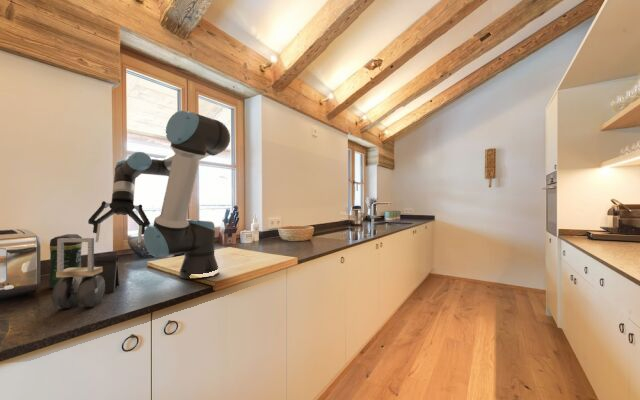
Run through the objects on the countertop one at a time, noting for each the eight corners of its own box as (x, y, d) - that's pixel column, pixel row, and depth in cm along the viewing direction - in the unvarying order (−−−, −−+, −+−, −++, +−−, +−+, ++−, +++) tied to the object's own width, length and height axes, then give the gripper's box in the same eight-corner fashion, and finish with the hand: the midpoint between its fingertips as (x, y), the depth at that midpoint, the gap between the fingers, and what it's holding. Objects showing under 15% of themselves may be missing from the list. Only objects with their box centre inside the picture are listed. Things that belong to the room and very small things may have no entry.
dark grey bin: (113, 292, 93) (113, 257, 93) (91, 294, 91) (91, 258, 91) (120, 284, 101) (120, 252, 101) (100, 286, 99) (100, 253, 99)
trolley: (105, 300, 86) (105, 235, 86) (86, 311, 77) (87, 239, 77) (73, 301, 84) (74, 235, 84) (51, 313, 76) (51, 239, 76)
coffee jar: (73, 288, 97) (74, 235, 97) (44, 290, 94) (45, 236, 94) (85, 280, 106) (85, 232, 106) (58, 282, 103) (59, 233, 103)
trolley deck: (102, 271, 84) (102, 266, 84) (92, 276, 79) (92, 270, 79) (68, 272, 82) (68, 267, 82) (56, 277, 77) (56, 272, 77)
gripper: (154, 201, 127) (153, 244, 118) (84, 194, 111) (76, 244, 102) (158, 193, 122) (157, 238, 113) (85, 185, 106) (77, 236, 97)
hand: (119, 241), depth 108 cm, fingers open, 13 cm apart
